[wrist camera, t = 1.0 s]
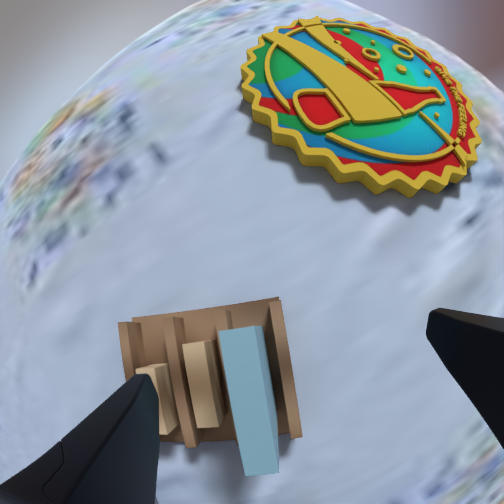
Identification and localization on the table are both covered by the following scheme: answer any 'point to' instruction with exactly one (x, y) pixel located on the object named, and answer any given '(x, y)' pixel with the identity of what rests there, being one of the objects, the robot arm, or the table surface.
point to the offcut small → (163, 395)
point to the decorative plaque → (361, 105)
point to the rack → (206, 328)
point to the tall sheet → (251, 398)
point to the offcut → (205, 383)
